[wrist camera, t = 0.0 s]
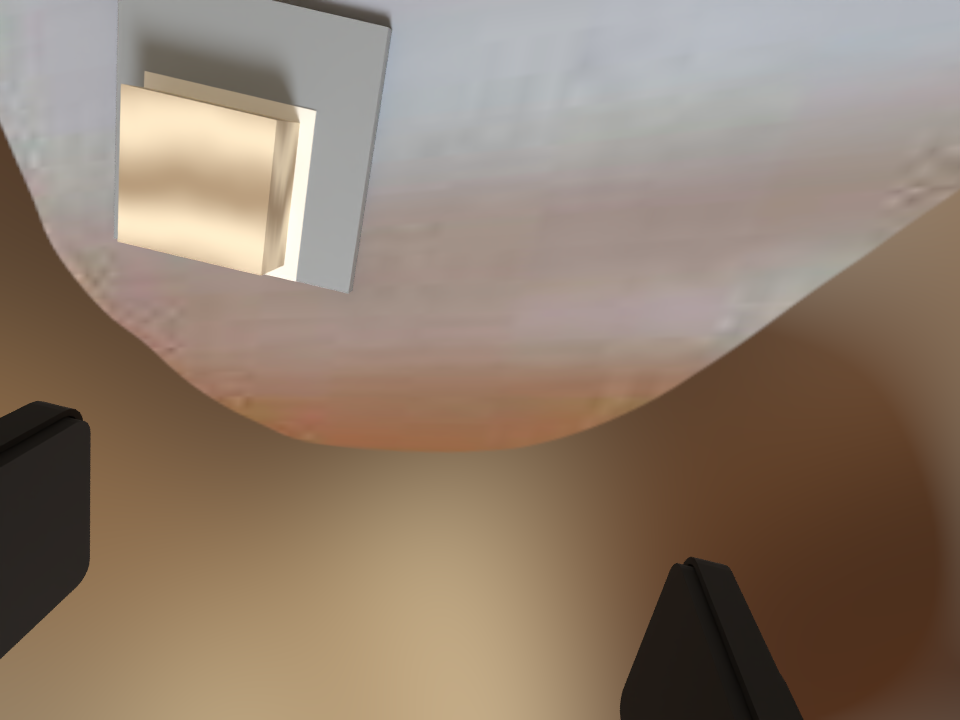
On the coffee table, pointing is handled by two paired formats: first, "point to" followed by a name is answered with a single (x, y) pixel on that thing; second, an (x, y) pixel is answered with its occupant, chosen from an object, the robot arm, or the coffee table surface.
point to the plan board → (275, 103)
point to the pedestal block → (205, 180)
